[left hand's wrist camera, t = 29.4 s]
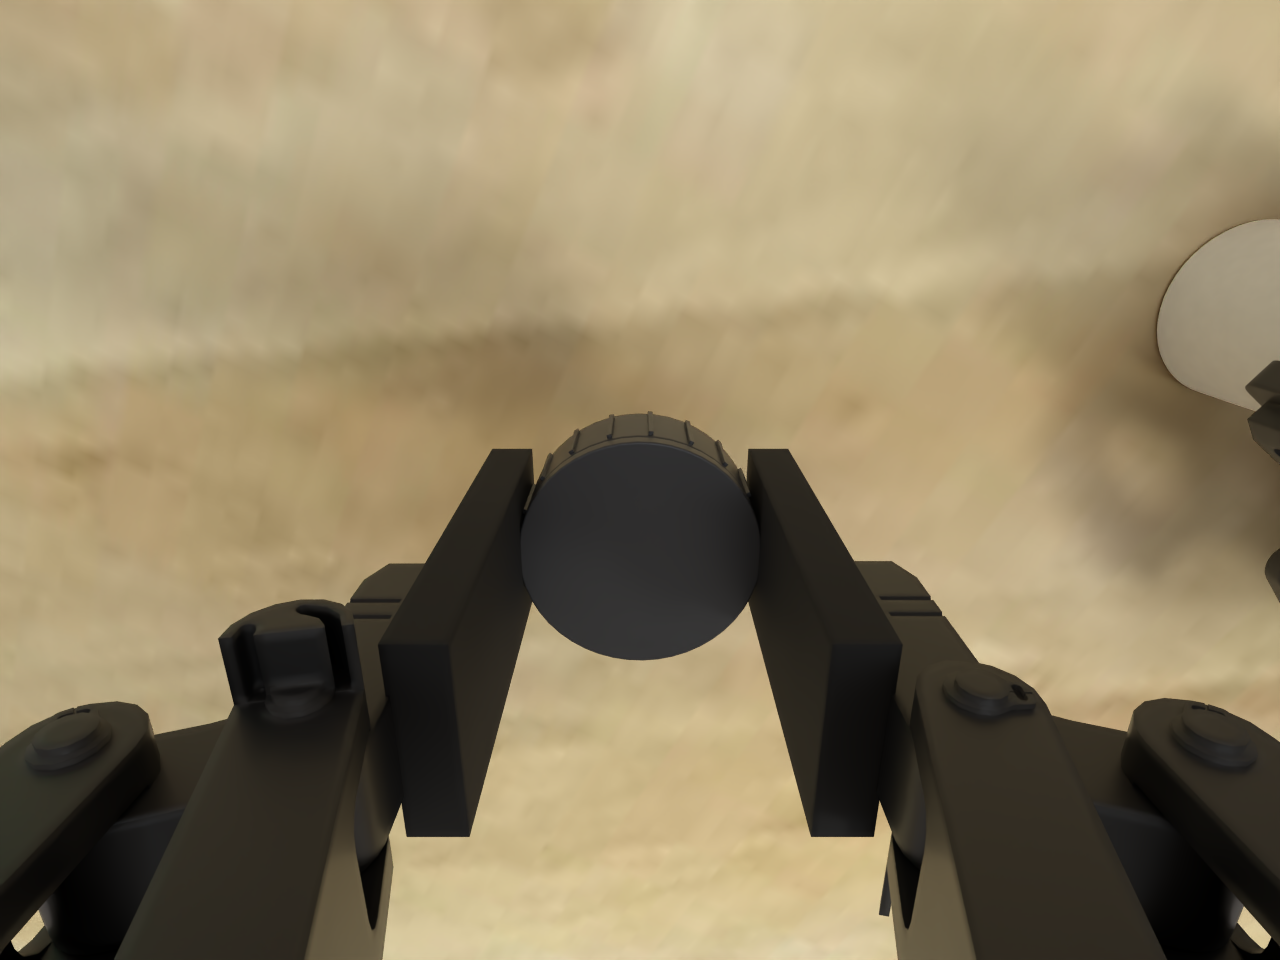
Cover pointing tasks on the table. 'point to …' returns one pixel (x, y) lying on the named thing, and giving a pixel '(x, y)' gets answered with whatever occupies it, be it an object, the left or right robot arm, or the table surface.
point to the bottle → (1225, 313)
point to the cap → (640, 538)
